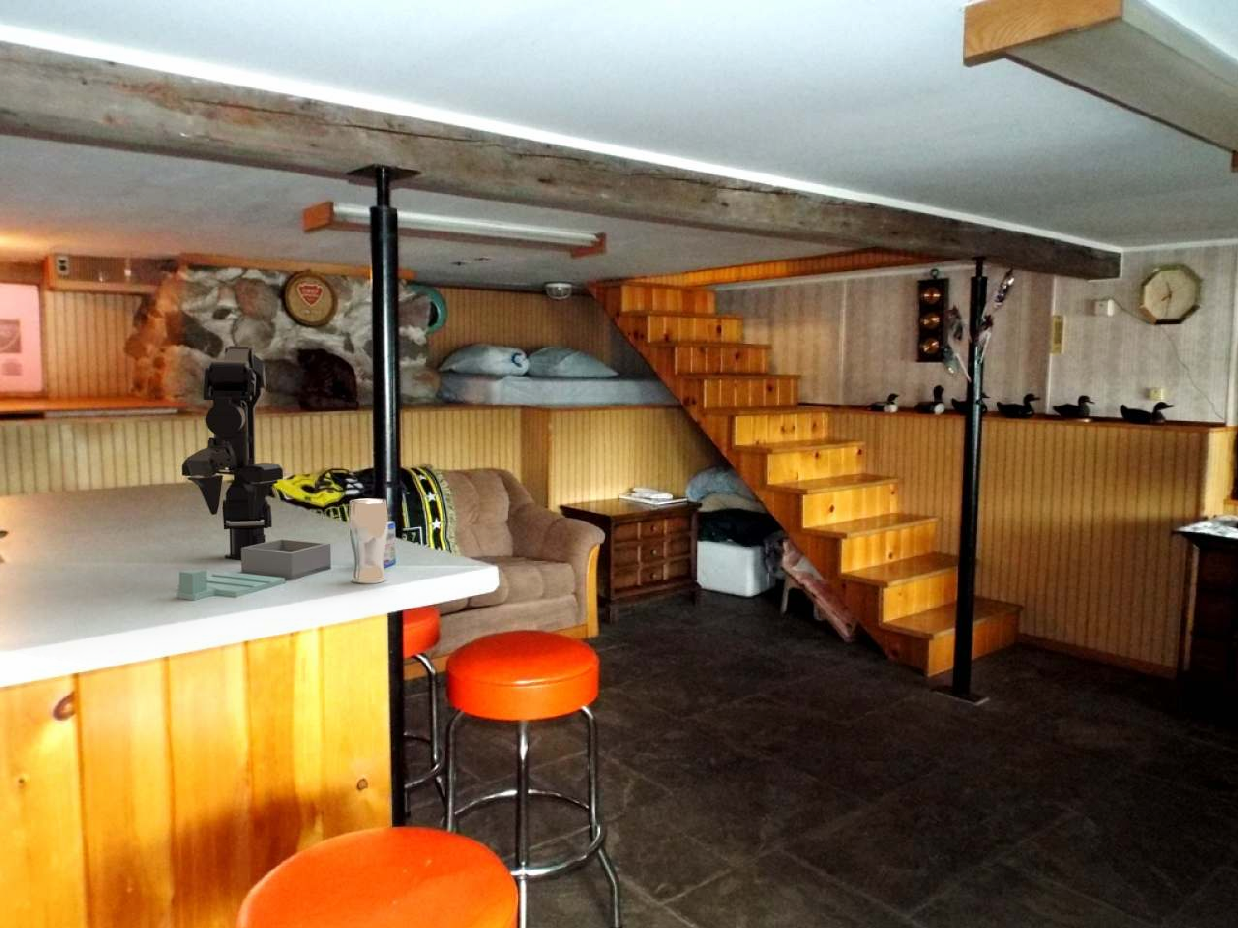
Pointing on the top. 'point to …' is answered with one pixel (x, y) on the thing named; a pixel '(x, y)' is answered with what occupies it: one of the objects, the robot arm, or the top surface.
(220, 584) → the lid
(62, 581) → the top surface
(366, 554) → the beer glass
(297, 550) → the tub
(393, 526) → the medicine box
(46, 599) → the top surface
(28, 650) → the top surface
